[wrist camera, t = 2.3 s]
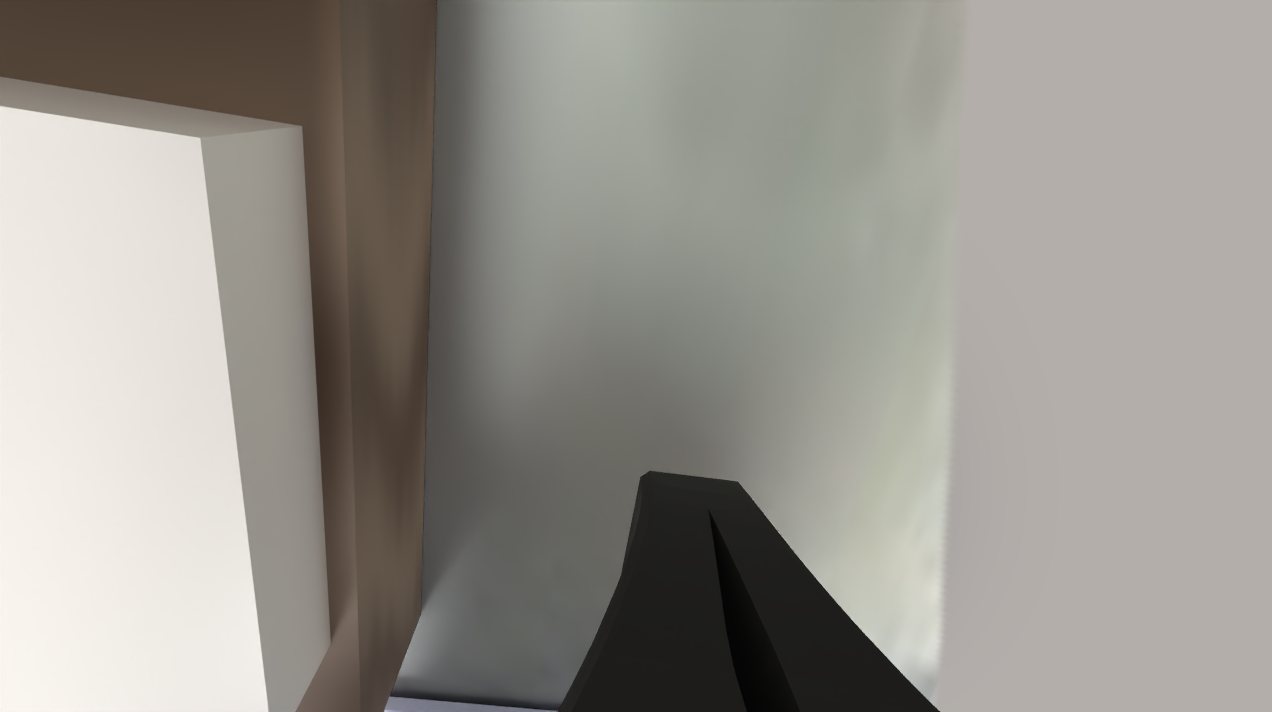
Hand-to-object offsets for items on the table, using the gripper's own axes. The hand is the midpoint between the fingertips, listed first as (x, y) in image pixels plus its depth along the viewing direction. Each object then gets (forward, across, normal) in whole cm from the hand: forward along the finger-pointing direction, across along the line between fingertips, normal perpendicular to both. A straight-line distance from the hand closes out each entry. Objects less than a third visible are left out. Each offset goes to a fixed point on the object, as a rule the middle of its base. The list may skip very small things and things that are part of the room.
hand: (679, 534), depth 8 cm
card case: (+2, +8, 0) cm, 9 cm away
